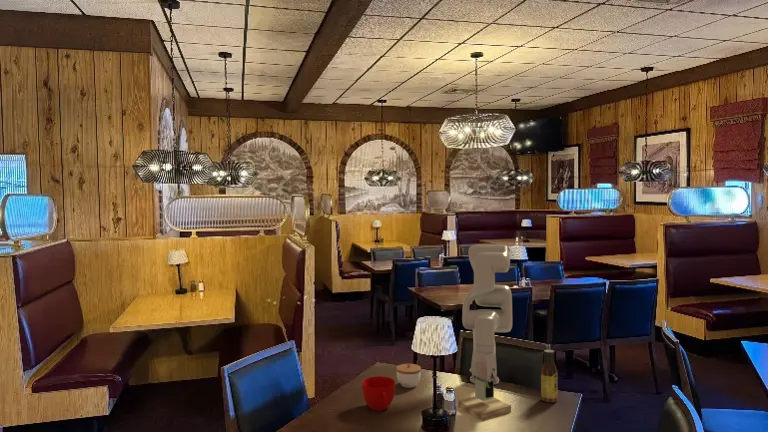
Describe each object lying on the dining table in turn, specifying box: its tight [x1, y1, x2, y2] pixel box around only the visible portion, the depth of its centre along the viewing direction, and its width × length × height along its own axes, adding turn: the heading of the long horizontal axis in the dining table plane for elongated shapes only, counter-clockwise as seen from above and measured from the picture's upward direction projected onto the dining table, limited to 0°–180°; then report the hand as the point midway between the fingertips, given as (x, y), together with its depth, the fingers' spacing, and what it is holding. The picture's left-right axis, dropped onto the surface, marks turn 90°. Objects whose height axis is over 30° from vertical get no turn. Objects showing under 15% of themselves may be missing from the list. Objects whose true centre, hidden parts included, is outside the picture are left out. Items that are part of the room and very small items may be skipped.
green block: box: [474, 378, 495, 401], centre depth 210 cm, size 5×5×7 cm
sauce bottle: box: [540, 349, 558, 403], centre depth 218 cm, size 6×6×20 cm
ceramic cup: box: [361, 376, 396, 411], centre depth 212 cm, size 13×17×10 cm
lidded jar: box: [395, 363, 422, 389], centre depth 237 cm, size 11×11×9 cm
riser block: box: [458, 396, 512, 421], centre depth 210 cm, size 14×14×3 cm
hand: (484, 394), depth 210 cm, fingers closed on green block, 5 cm apart
